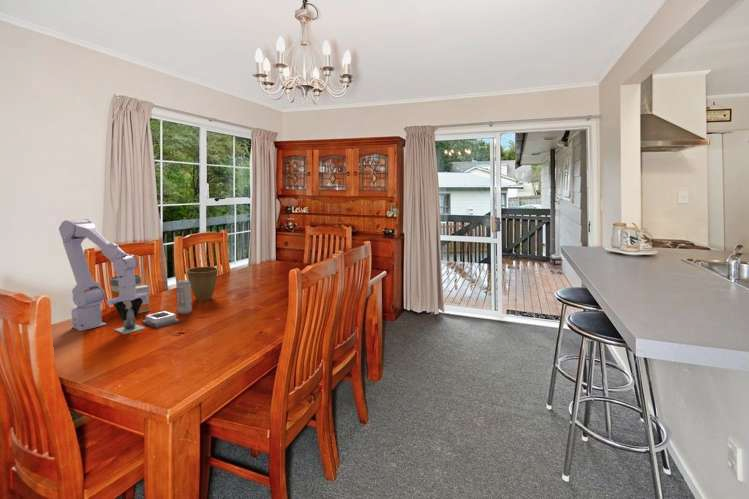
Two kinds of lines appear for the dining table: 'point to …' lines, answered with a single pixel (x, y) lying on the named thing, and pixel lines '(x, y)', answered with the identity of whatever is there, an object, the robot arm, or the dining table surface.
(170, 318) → the socket block
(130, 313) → the key peg
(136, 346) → the dining table surface
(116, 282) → the reusable coffee cup
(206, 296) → the plant pot
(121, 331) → the mat
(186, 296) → the energy drink can
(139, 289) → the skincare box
